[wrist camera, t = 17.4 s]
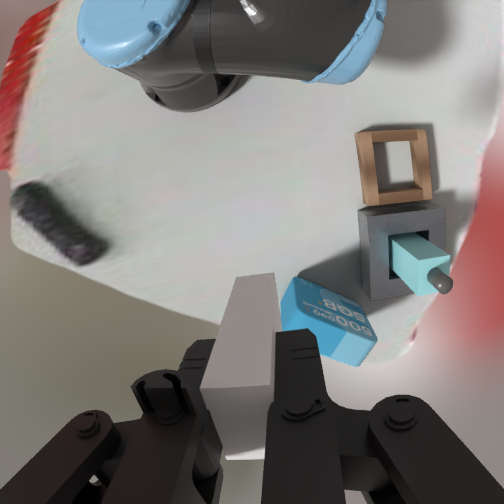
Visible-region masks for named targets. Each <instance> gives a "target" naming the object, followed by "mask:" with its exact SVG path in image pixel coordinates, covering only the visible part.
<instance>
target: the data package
mask: <svg viewBox="0 0 504 504" xmlns="http://www.w3.org/2000/svg"><path fill="white" fill-rule="evenodd" d="M281 323H282V330H283V331H289V330H297V329H305V328H308V329H309V330H310V331H311V332H312V333H314V334H315V335H316V337H317V342H318V348H319V353H320V355H322V356H325V357H328V358H330V359H333V360H336V361H339V362H342V363H345V364H348V365H351V366H354V367H358V366H360V365H361V363H362V362H363V361H364V359H365V358H366V356H367V355H368V354H369V352H370V351H371V349H372V348H373V346H374V345H375V343H376V342H377V336H376V334H375V332H374V330H373V329H372V327H371V325H370V323H369V321H368V319H367V317H366V315H365V313H364V311H363V309H362V307H361V306H360V305H359V304H358V303H357V302H355V301H353V300H351V299H349V298H347V297H344V296H342V295H340V294H337V293H335V292H333V291H330V290H328V289H326V288H324V287H321V286H319V285H317V284H314V283H312V282H310V281H308V280H305V279H303V278H300V277H294V278H293V279H292V281H291V283H290V285H289V287H288V288H287V290H286V292H285V294H284V296H283V298H282V300H281Z"/></svg>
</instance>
